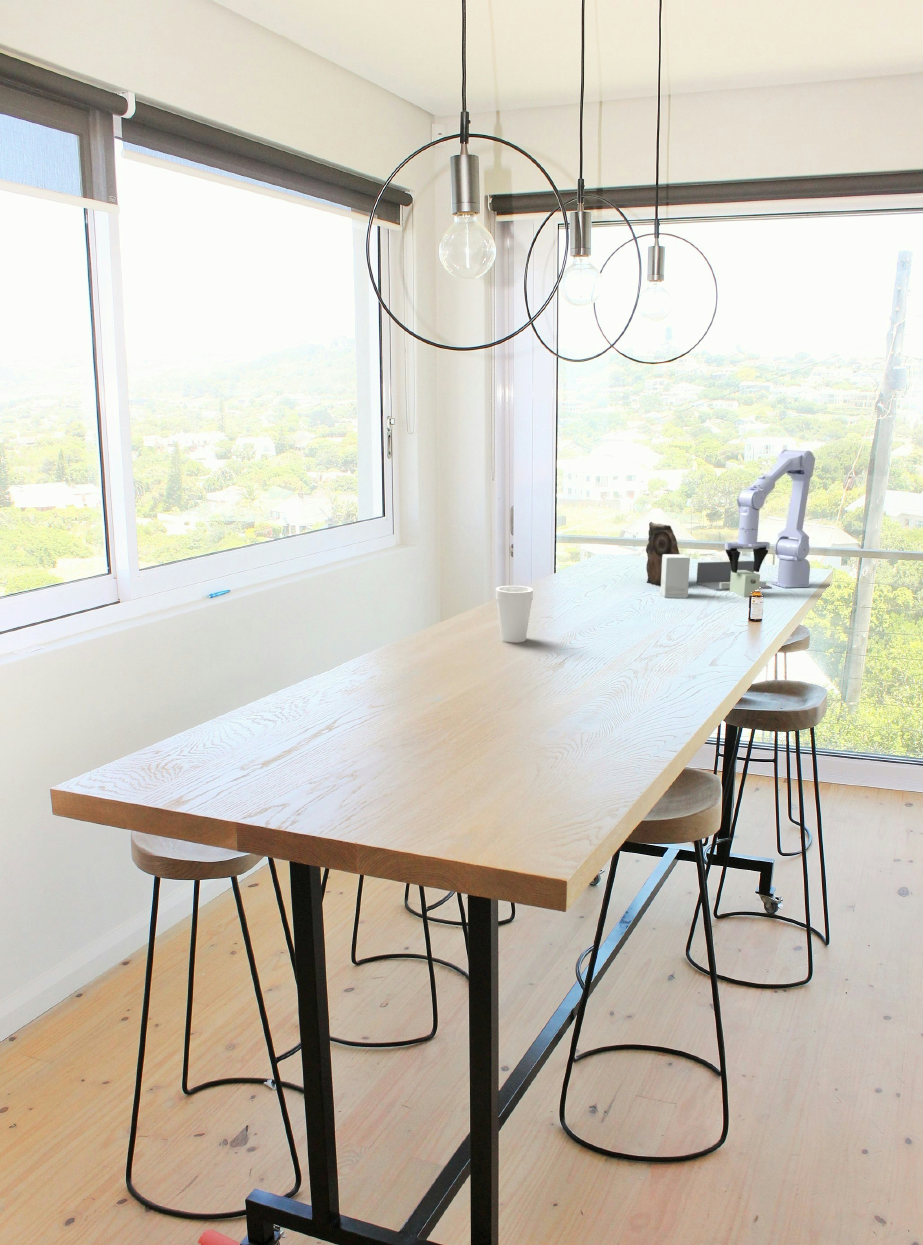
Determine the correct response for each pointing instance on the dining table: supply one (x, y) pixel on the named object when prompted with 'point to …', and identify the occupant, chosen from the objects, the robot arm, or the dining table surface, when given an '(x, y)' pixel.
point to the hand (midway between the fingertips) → (745, 572)
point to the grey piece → (722, 574)
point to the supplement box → (675, 575)
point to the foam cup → (514, 612)
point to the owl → (659, 550)
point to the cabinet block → (744, 582)
